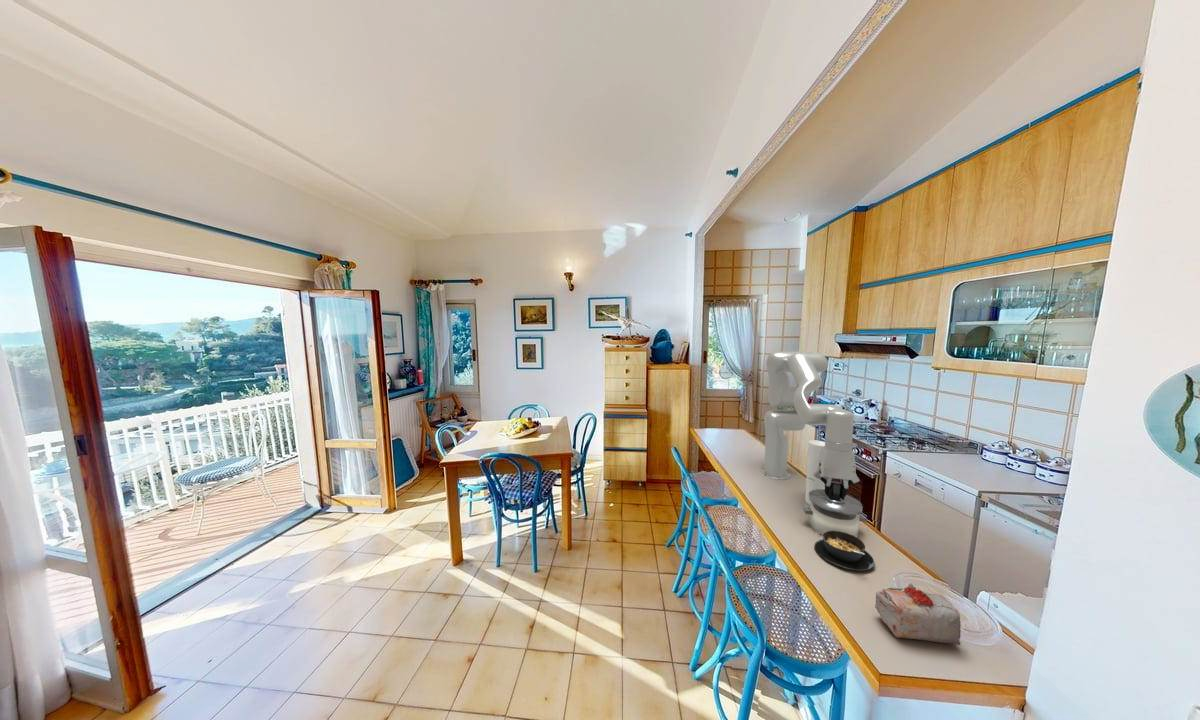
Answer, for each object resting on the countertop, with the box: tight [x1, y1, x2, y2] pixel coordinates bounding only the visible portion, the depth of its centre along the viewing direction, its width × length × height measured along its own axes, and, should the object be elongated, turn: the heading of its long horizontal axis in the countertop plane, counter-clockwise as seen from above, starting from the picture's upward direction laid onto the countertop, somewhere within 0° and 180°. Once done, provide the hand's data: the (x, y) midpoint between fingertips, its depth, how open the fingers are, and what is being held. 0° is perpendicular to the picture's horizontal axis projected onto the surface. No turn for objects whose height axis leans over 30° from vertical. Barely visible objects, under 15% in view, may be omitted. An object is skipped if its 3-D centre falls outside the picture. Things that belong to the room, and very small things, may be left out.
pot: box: [802, 502, 868, 539], centre depth 116 cm, size 14×18×7 cm
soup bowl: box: [813, 531, 876, 572], centre depth 101 cm, size 15×16×7 cm
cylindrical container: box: [804, 439, 825, 505], centre depth 132 cm, size 7×7×25 cm
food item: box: [874, 583, 962, 646], centre depth 77 cm, size 14×8×10 cm, turn 81°
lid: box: [809, 480, 863, 515], centre depth 115 cm, size 15×15×7 cm
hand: (834, 496), depth 115 cm, fingers closed on lid, 3 cm apart
